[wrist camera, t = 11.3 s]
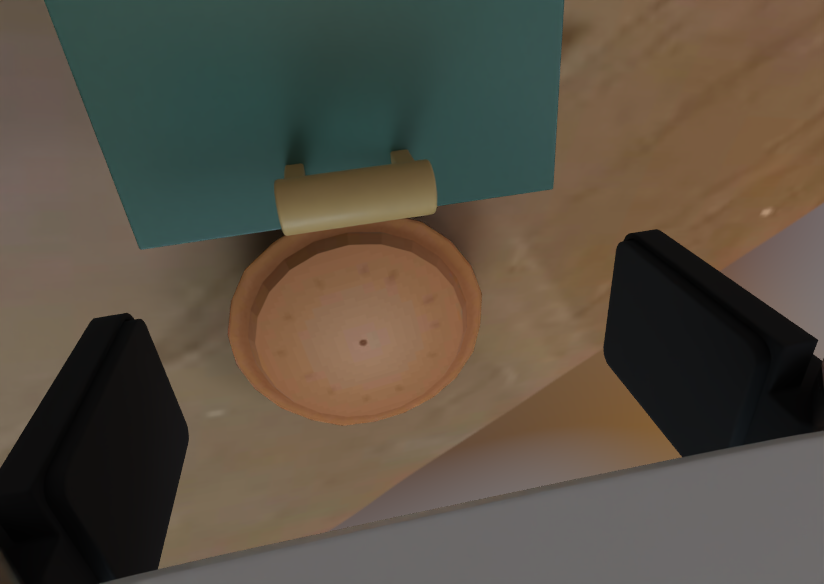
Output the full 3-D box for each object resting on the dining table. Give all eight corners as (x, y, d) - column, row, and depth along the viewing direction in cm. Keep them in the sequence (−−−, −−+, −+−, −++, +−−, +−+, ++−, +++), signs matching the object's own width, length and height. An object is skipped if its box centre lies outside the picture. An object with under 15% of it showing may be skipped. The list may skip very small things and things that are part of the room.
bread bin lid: (546, 183, 23) (604, 231, 19) (144, 242, 21) (104, 311, 17) (571, -295, 16) (679, -404, 11) (-49, -272, 14) (-214, -392, 9)
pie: (509, 245, 36) (537, 281, 32) (402, 411, 42) (414, 460, 37) (291, 145, 30) (290, 172, 26) (202, 354, 36) (189, 404, 32)
